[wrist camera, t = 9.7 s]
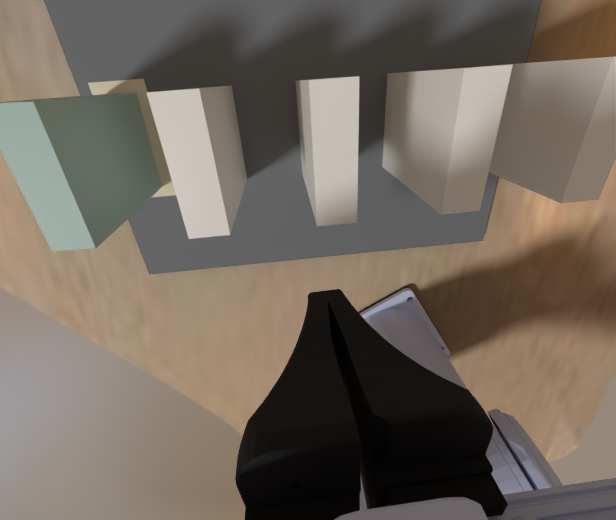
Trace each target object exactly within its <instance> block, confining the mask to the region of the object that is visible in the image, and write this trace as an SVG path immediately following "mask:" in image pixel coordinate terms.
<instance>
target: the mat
mask: <svg viewBox="0 0 616 520" xmlns="http://www.w3.org/2000/svg"><path fill="white" fill-rule="evenodd" d="M44 2H45V5H46V7H47V10H48V13H49V15H50V18H51V20H52V23H53V26H54V28H55V31H56V33H57V36H58V39H59V41H60V44H61V46H62V49H63V52H64V54H65V57H66V59H67V62H68V65H69V67H70V70H71V72H72V75H73V77H74V80H75V83H76V85H77V88H78V90H79V93H80V96H88V95H101V94H122V93H137V96H138V100H139V103H140V107H141V111H142V114H143V118H144V122H145V125H146V129H147V132H148V136H149V140H150V143H151V147H152V151H153V154H154V158H155V162H156V165H157V169H158V173H159V176H160V180H161V183H162V188H161V189H159V190H158V191H157V192H156V193H155V194H154V195H153V196H152V197H151V198H150V199H149V200H148V201H146V202H145V203H144V204H143V205H142V206H141V207H140V208H139V209H138V210H137V211H136V212H135V213H133V214H132V215H131V216H130V217H129V218H128V220H129V223H130V225H131V228H132V231H133V233H134V236H135V238H136V241H137V244H138V246H139V249H140V251H141V254H142V257H143V259H144V262H145V264H146V267H147V270H148V272H149V274H158V273H168V272H177V271H187V270H197V269H207V268H217V267H227V266H237V265H247V264H257V263H267V262H276V261H286V260H296V259H306V258H316V257H326V256H336V255H346V254H356V253H366V252H375V251H385V250H395V249H405V248H415V247H425V246H435V245H445V244H455V243H465V242H474V241H483V238H484V234H485V230H486V225H487V221H488V217H489V213H490V209H491V205H492V201H493V197H494V193H495V189H496V184H497V180H498V176H497V175H494V174H492V173H490V172H488V177H487V181H486V186H485V190H484V194H483V199H482V203H481V208H480V211H473V212H462V213H452V214H442V215H441V214H440V213H438V212H437V211H436V210H435V209H434V208H432V207H431V206H430V205H429V204H427V203H426V202H425V201H424V200H422V199H421V198H420V197H419V196H418V195H416V194H415V193H414V192H413V191H411V190H410V189H409V188H408V187H406V186H405V185H404V184H403V183H402V182H400V181H399V180H398V179H397V178H395V177H394V176H393V175H392V174H390V173H389V172H388V171H387V170H385V169H384V168H383V167H382V164H383V145H384V127H385V108H386V90H387V73H401V72H414V71H427V70H442V69H456V68H470V67H479V66H492V65H505V64H519V63H526V61H527V57H528V53H529V49H530V45H531V41H532V37H533V33H534V29H535V24H536V20H537V16H538V12H539V8H540V4H541V0H44ZM354 76H359V138H358V204H357V223H349V224H338V225H328V226H318V227H317V224H316V221H315V217H314V214H313V210H312V206H311V203H310V199H309V196H308V192H307V188H306V185H305V181H304V178H303V174H302V161H301V147H300V134H299V121H298V107H297V94H296V80H309V79H322V78H338V77H354ZM230 85H232V90H233V96H234V102H235V108H236V114H237V120H238V126H239V133H240V139H241V145H242V151H243V157H244V163H245V169H246V175H247V181H246V185H245V188H244V191H243V195H242V198H241V201H240V205H239V208H238V211H237V214H236V218H235V221H234V224H233V228H232V231H231V234H230V235H225V236H214V237H204V238H193V239H189V238H188V235H187V231H186V228H185V224H184V221H183V217H182V214H181V210H180V207H179V203H178V200H177V197H176V193H175V190H174V186H173V183H172V179H171V176H170V172H169V169H168V165H167V162H166V158H165V155H164V152H163V148H162V145H161V141H160V138H159V134H158V131H157V127H156V124H155V120H154V117H153V114H152V110H151V107H150V103H149V100H148V96H147V93H146V92H158V91H169V90H181V89H192V88H204V87H217V86H230Z"/></svg>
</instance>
